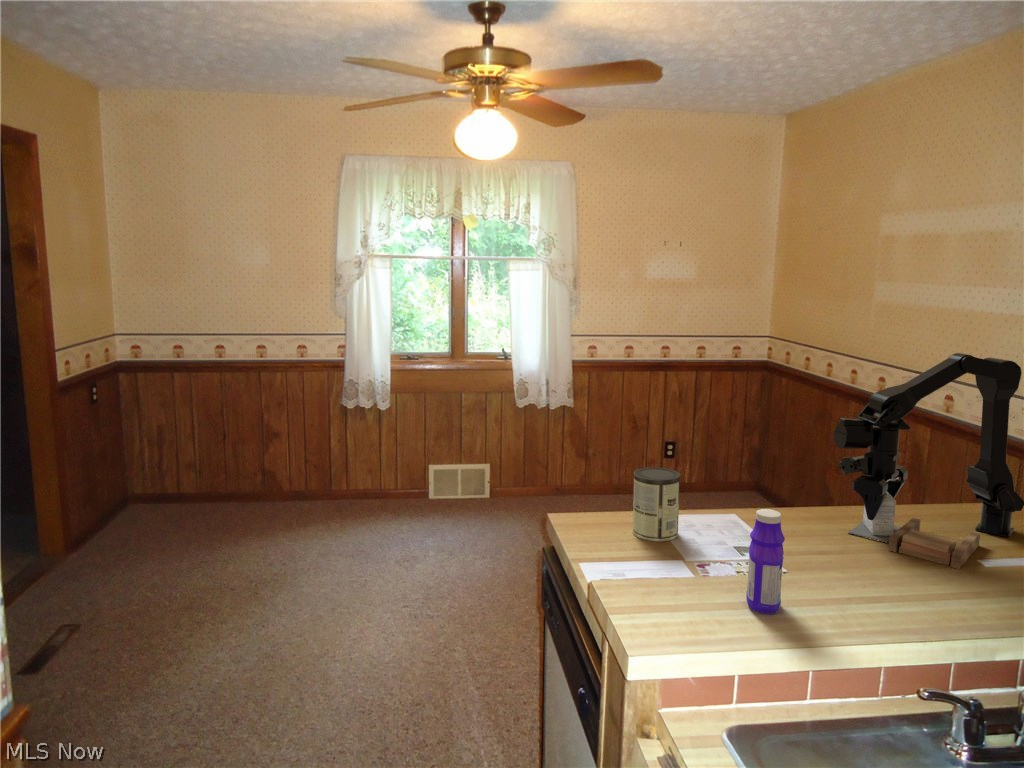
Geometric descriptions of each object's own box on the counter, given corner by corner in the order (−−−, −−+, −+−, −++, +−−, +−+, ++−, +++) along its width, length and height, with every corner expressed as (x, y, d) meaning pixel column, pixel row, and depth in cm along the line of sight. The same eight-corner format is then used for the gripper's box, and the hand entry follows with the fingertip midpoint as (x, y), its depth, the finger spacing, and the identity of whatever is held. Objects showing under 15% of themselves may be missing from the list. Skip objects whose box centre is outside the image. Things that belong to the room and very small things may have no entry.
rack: (912, 530, 157) (913, 517, 156) (978, 545, 148) (980, 532, 147) (888, 550, 145) (889, 537, 144) (959, 569, 136) (960, 554, 135)
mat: (866, 520, 163) (866, 519, 163) (903, 529, 157) (903, 527, 157) (848, 533, 154) (848, 532, 154) (886, 543, 149) (886, 541, 149)
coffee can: (641, 522, 162) (643, 464, 159) (684, 530, 156) (686, 471, 154) (624, 535, 153) (626, 475, 151) (668, 545, 147) (671, 482, 145)
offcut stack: (907, 544, 148) (908, 528, 148) (956, 557, 142) (958, 540, 141) (898, 553, 144) (899, 536, 143) (948, 566, 137) (950, 549, 137)
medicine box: (893, 537, 151) (897, 499, 150) (871, 535, 152) (875, 498, 151) (882, 524, 159) (886, 489, 158) (861, 523, 160) (865, 487, 158)
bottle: (782, 618, 116) (788, 521, 113) (747, 614, 118) (752, 517, 115) (777, 599, 123) (784, 507, 120) (744, 595, 124) (750, 504, 122)
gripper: (860, 435, 165) (854, 497, 167) (830, 449, 152) (825, 516, 154) (911, 443, 157) (905, 508, 159) (884, 458, 144) (878, 528, 147)
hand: (877, 514), depth 155 cm, fingers open, 9 cm apart
